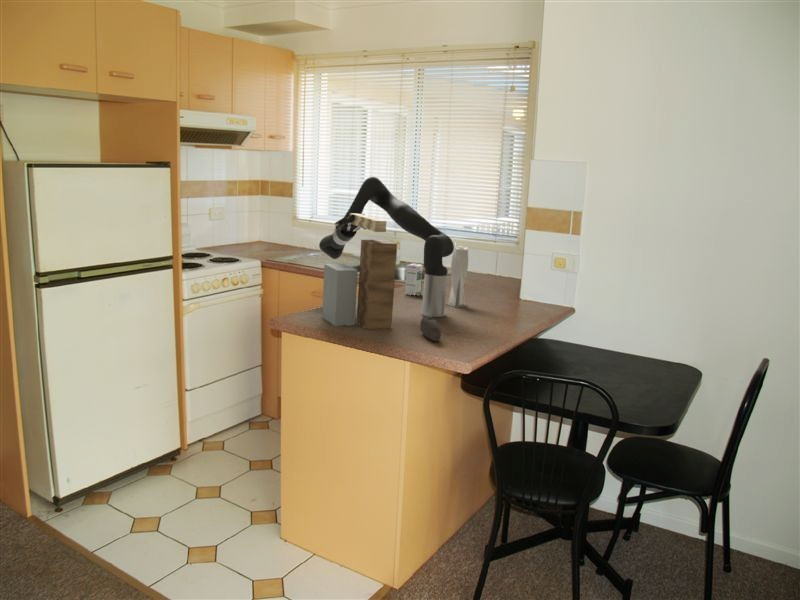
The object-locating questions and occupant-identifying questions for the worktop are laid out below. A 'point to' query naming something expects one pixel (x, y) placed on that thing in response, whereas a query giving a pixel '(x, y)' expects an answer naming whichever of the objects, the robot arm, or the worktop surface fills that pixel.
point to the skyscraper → (458, 276)
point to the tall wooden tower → (376, 283)
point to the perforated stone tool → (430, 328)
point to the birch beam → (369, 223)
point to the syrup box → (414, 279)
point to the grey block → (339, 294)
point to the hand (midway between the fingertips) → (359, 216)
